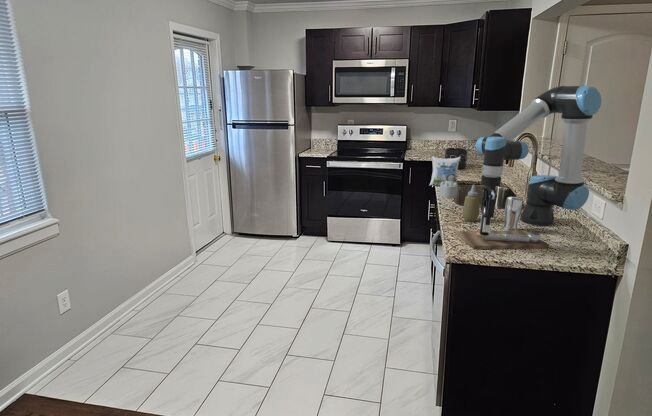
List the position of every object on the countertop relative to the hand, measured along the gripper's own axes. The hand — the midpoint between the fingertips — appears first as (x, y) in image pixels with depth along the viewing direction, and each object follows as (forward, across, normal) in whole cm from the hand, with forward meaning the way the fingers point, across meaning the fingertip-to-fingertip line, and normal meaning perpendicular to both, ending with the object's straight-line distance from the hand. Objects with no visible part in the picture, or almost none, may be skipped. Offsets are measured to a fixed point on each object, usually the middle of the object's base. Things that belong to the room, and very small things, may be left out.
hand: (484, 230), depth 176 cm
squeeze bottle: (+6, -32, +1) cm, 33 cm away
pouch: (+6, -109, 0) cm, 109 cm away
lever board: (+6, -3, +8) cm, 10 cm away
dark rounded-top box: (+5, -180, +19) cm, 181 cm away
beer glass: (+6, -20, +17) cm, 27 cm away
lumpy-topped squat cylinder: (+6, -82, -2) cm, 82 cm away
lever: (+4, 0, +10) cm, 11 cm away
